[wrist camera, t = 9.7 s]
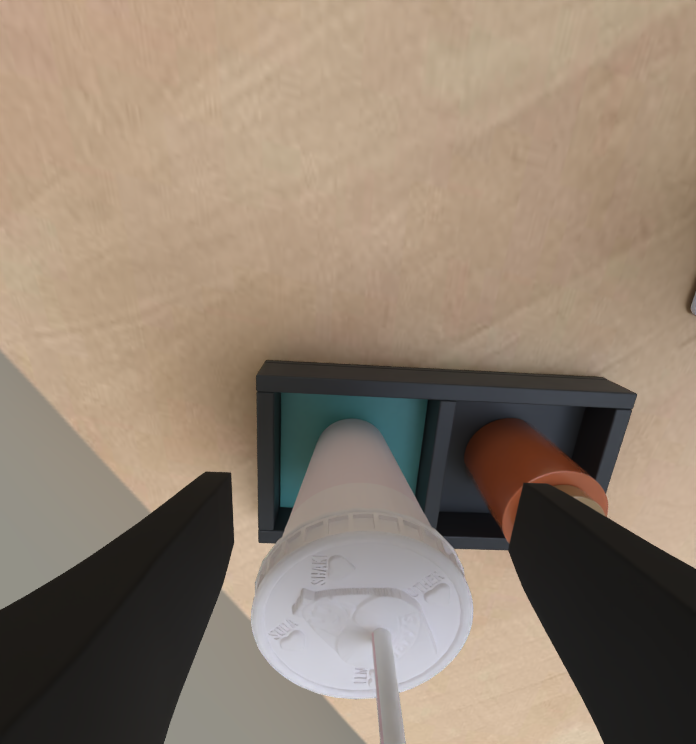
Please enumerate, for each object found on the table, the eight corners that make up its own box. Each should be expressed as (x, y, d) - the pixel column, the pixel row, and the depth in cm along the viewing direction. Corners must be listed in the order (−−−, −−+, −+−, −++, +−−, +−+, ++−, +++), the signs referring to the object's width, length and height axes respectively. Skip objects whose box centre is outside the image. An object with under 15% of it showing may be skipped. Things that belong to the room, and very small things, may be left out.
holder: (265, 359, 19) (255, 374, 16) (603, 377, 19) (638, 393, 17) (266, 512, 21) (258, 543, 19) (562, 522, 22) (587, 553, 20)
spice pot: (553, 419, 20) (636, 485, 14) (535, 491, 21) (605, 576, 16) (470, 415, 20) (523, 480, 14) (457, 488, 21) (501, 573, 15)
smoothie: (376, 518, 21) (443, 977, 8) (270, 475, 20) (137, 919, 7) (434, 424, 19) (646, 805, 6) (321, 373, 18) (280, 694, 5)
